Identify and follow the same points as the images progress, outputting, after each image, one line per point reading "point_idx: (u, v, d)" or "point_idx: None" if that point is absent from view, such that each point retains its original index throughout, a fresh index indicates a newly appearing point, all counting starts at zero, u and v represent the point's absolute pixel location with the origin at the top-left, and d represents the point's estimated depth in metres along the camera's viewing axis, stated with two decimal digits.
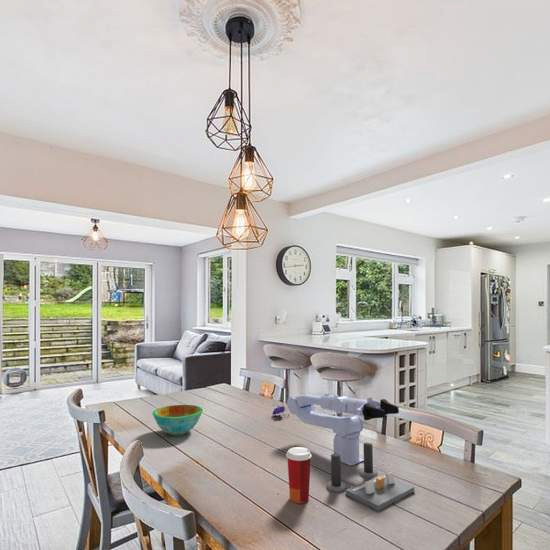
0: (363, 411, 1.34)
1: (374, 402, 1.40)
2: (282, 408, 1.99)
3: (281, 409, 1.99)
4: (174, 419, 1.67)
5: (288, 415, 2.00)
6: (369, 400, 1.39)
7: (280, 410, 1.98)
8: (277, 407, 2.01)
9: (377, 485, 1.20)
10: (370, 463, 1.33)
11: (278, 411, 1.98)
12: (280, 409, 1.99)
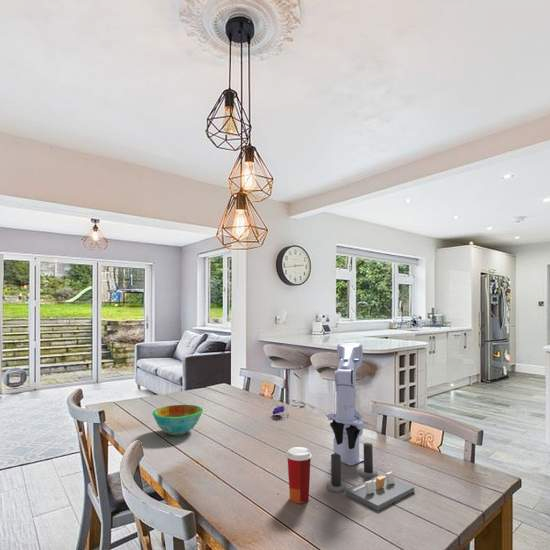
0: None
1: None
2: (281, 408, 2.00)
3: (280, 409, 1.99)
4: (174, 419, 1.67)
5: None
6: None
7: (279, 410, 1.99)
8: (277, 407, 2.01)
9: (377, 485, 1.20)
10: (370, 463, 1.33)
11: (277, 411, 1.99)
12: (279, 409, 1.99)
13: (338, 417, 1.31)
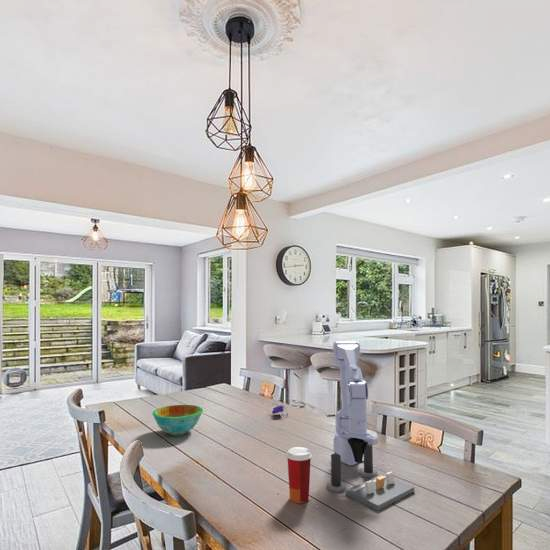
0: None
1: None
2: (281, 407, 2.00)
3: (279, 408, 2.00)
4: (174, 419, 1.67)
5: (287, 414, 2.01)
6: None
7: (278, 409, 2.00)
8: None
9: (377, 485, 1.20)
10: (370, 463, 1.33)
11: (276, 410, 1.99)
12: (278, 408, 2.00)
13: (351, 432, 1.27)
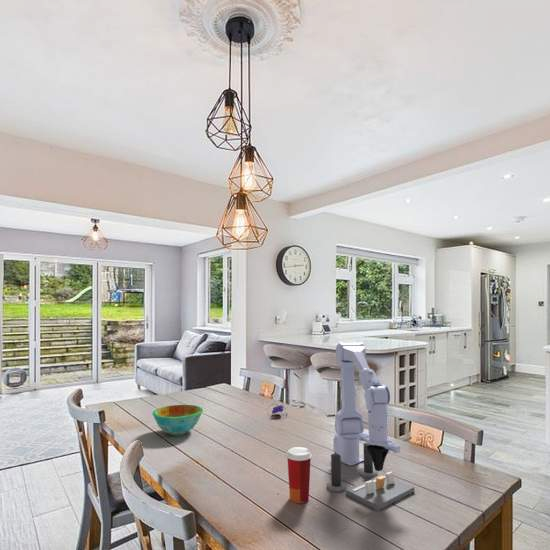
0: None
1: None
2: (280, 407, 2.01)
3: None
4: (174, 419, 1.67)
5: (286, 414, 2.02)
6: None
7: (278, 409, 2.00)
8: None
9: (377, 485, 1.20)
10: (370, 463, 1.33)
11: (276, 410, 2.00)
12: (278, 408, 2.00)
13: (371, 438, 1.21)
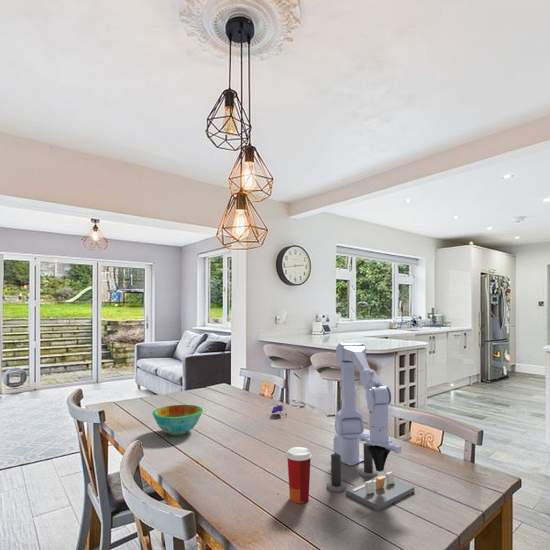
0: None
1: None
2: (279, 407, 2.01)
3: (278, 408, 2.01)
4: (174, 419, 1.67)
5: (286, 414, 2.02)
6: None
7: (277, 409, 2.01)
8: (275, 406, 2.03)
9: (377, 485, 1.20)
10: (370, 463, 1.33)
11: (275, 410, 2.00)
12: (277, 408, 2.01)
13: (372, 439, 1.20)
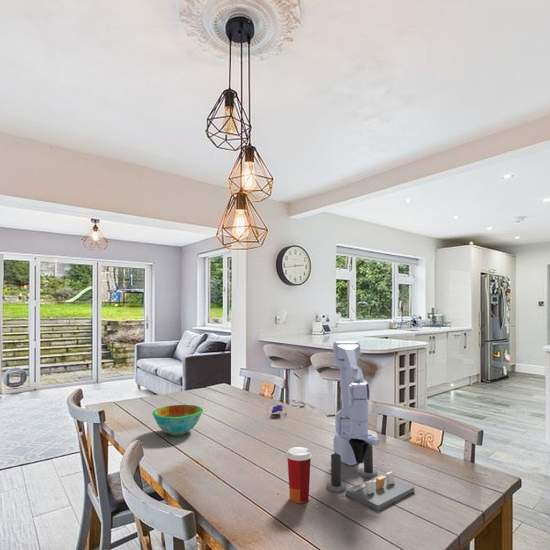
0: None
1: None
2: (279, 407, 2.01)
3: None
4: (174, 419, 1.67)
5: (285, 414, 2.02)
6: None
7: (277, 409, 2.01)
8: (275, 406, 2.04)
9: (377, 485, 1.20)
10: (370, 463, 1.33)
11: (275, 410, 2.01)
12: (277, 408, 2.01)
13: (352, 432, 1.27)
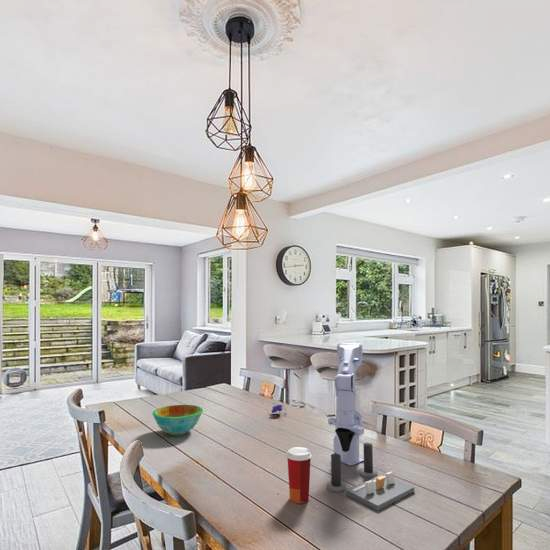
0: None
1: None
2: (279, 407, 2.02)
3: (277, 407, 2.02)
4: (174, 419, 1.67)
5: (285, 414, 2.03)
6: None
7: (276, 408, 2.01)
8: None
9: (377, 485, 1.20)
10: (370, 463, 1.33)
11: (274, 409, 2.01)
12: (276, 407, 2.02)
13: (338, 422, 1.31)
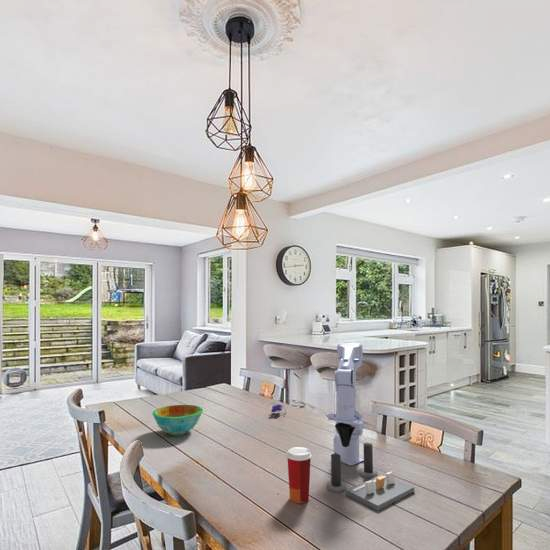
0: None
1: None
2: (278, 406, 2.03)
3: (277, 407, 2.02)
4: (174, 419, 1.67)
5: (284, 414, 2.03)
6: None
7: (276, 408, 2.02)
8: (274, 405, 2.05)
9: (377, 485, 1.20)
10: (370, 463, 1.33)
11: (274, 409, 2.02)
12: (276, 407, 2.02)
13: (338, 417, 1.31)
